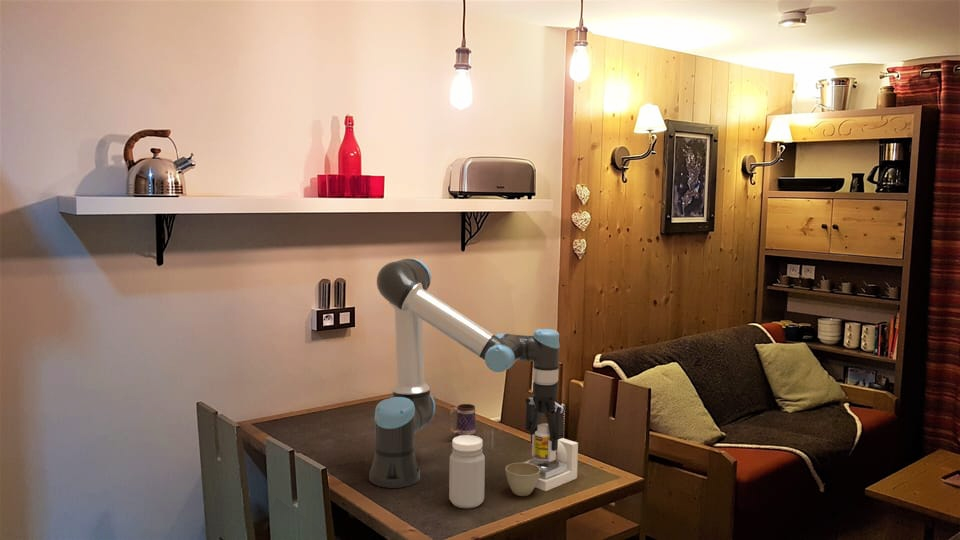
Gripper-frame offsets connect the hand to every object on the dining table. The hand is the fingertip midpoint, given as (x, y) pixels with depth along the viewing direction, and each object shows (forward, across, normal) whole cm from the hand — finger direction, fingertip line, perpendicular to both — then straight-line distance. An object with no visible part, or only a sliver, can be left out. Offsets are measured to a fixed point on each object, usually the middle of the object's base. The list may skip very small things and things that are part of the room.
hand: (543, 457), depth 229 cm
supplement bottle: (+1, 0, 0) cm, 1 cm away
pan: (+4, 0, 0) cm, 4 cm away
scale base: (+7, 0, -1) cm, 7 cm away
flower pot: (+7, -2, +12) cm, 14 cm away
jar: (+7, +4, +28) cm, 29 cm away
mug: (+7, +43, -7) cm, 44 cm away
